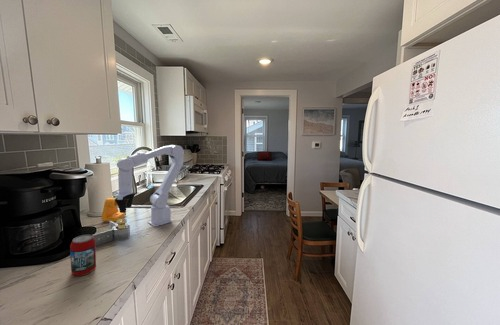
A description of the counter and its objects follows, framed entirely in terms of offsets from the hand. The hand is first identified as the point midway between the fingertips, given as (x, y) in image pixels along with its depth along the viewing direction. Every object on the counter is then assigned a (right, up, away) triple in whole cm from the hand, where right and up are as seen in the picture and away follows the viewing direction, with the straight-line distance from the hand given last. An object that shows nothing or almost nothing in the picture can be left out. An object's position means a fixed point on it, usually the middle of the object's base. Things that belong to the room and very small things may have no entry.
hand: (125, 209), depth 105 cm
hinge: (-4, -11, -8) cm, 14 cm away
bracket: (-15, -9, +14) cm, 22 cm away
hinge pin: (+2, -11, -7) cm, 13 cm away
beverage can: (+4, -14, -32) cm, 35 cm away
